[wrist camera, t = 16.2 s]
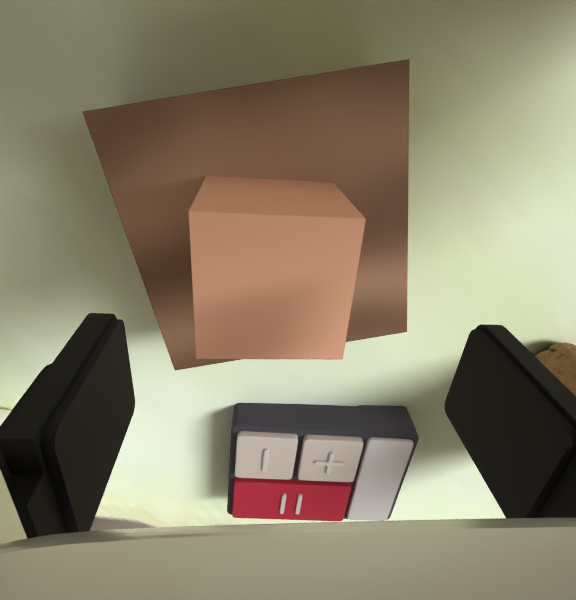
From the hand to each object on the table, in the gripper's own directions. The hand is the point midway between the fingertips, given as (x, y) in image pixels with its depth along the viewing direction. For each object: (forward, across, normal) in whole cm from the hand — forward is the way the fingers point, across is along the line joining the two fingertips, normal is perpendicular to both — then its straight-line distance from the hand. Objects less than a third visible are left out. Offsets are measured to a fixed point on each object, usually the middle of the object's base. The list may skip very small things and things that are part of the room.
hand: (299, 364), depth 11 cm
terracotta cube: (+10, +1, 0) cm, 10 cm away
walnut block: (+16, 0, 0) cm, 17 cm away
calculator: (+17, -5, +22) cm, 28 cm away
